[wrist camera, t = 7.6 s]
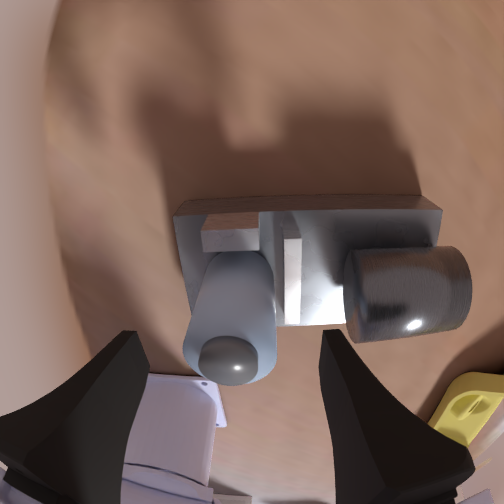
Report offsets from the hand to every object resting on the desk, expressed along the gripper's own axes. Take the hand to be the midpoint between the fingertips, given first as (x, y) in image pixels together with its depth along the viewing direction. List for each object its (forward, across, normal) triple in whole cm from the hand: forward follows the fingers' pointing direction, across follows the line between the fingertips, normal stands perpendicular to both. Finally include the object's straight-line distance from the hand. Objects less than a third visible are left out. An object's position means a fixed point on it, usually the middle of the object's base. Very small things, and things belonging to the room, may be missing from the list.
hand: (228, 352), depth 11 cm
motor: (+8, -4, 0) cm, 9 cm away
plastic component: (+8, -25, +24) cm, 35 cm away
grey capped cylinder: (+5, 0, 0) cm, 5 cm away
